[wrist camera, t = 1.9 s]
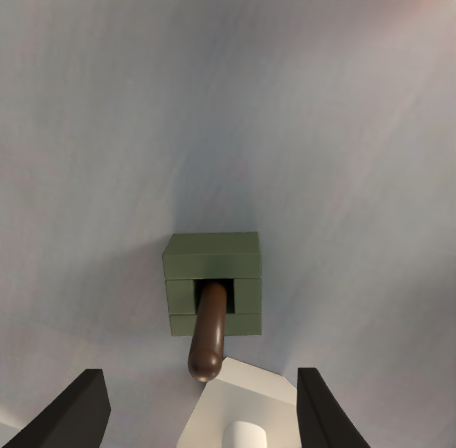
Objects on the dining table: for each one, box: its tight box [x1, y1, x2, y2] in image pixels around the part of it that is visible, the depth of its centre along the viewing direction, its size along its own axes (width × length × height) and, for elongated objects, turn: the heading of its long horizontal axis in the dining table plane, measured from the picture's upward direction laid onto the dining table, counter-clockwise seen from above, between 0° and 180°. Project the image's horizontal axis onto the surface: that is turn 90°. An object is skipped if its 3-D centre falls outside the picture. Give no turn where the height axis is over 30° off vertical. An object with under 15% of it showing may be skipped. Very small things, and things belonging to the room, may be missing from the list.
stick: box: [188, 278, 228, 382], centre depth 16 cm, size 1×1×8 cm
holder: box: [162, 232, 262, 336], centre depth 19 cm, size 5×5×3 cm
